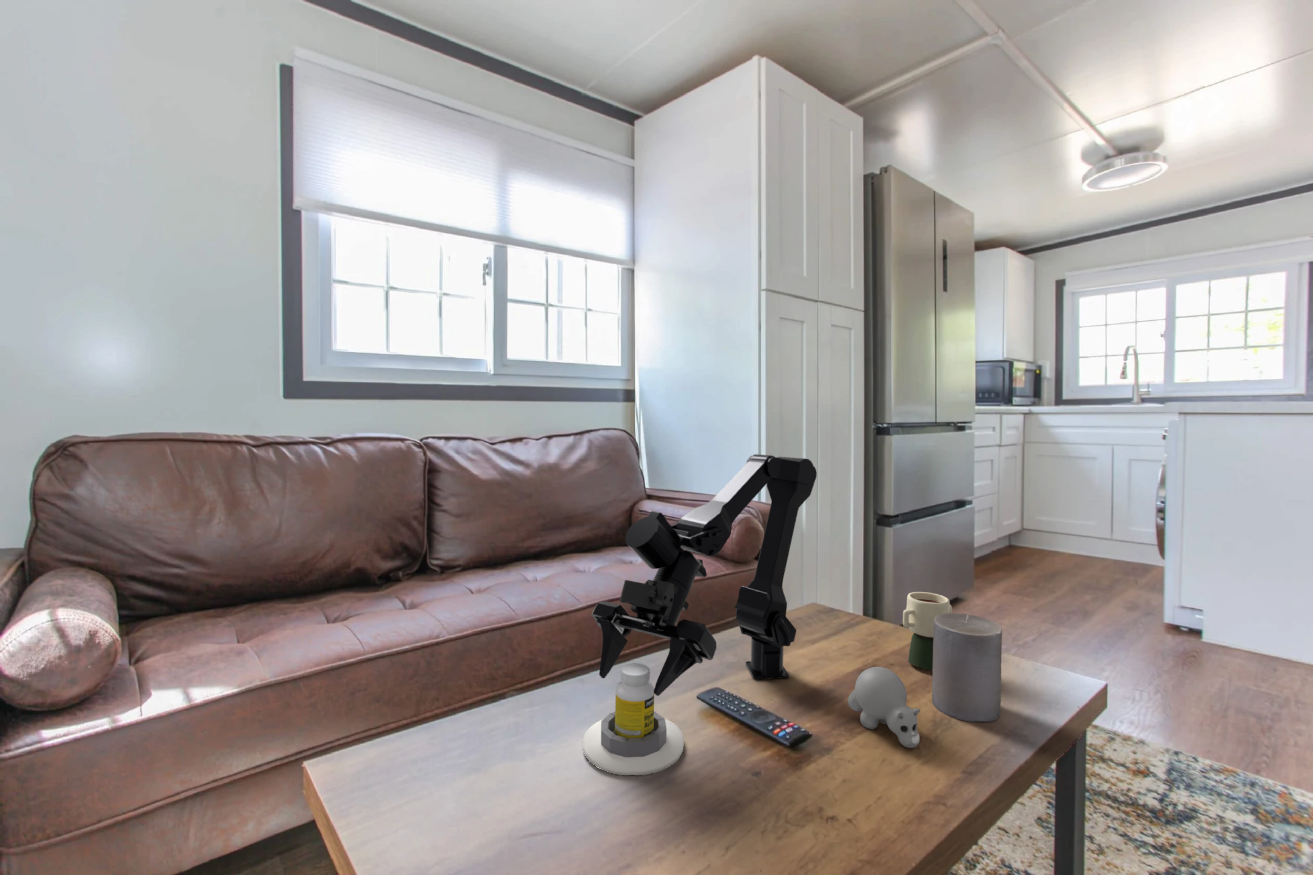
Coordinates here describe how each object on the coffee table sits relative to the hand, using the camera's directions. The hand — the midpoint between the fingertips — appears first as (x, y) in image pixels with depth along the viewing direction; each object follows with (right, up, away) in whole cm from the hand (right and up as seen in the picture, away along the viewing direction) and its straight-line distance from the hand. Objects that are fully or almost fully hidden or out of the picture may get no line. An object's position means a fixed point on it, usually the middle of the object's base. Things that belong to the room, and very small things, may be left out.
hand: (627, 685), depth 81 cm
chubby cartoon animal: (+38, -9, +6) cm, 39 cm away
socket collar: (+1, -9, +2) cm, 9 cm away
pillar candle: (+53, -9, +13) cm, 55 cm away
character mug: (+54, -9, +28) cm, 61 cm away
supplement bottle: (+1, -8, +2) cm, 8 cm away
